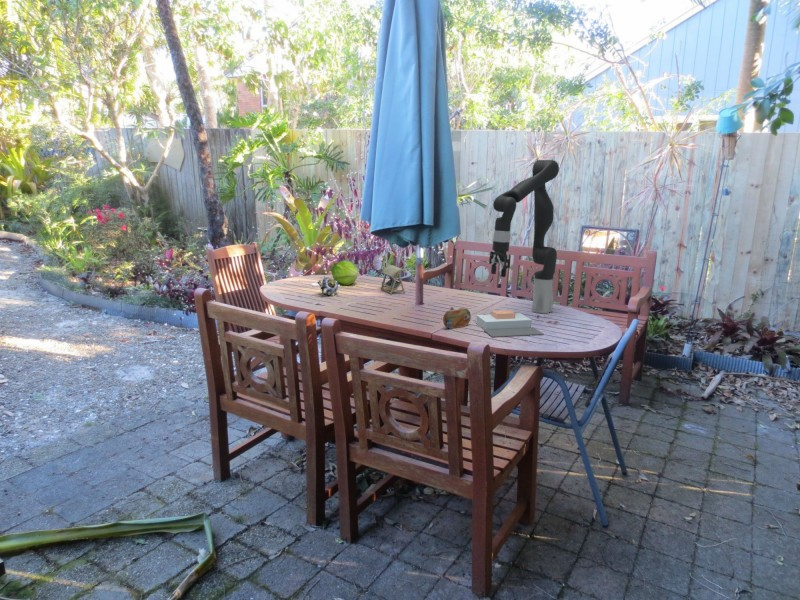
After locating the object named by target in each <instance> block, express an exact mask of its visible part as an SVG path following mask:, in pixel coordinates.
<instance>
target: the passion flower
mask: <svg viewBox="0 0 800 600" xmlns="http://www.w3.org/2000/svg"><path fill="white" fill-rule="evenodd" d="M317 284H318V285H319V287H320V290H321V293H322V294H324V292H325V293H326V294H327V295H328V296H330V295H331V296H332V297H334V296H335V293H337V294H338V293H339V289H338V288H340V287H341V284H339V283H338V282H337V281H335V279H334V278H333V276H331V277H329V276H327V275H324V276H323V279H322V280H321V279H319V280H318V281H317Z"/></svg>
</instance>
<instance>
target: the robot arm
mask: <svg viewBox="0 0 800 600" xmlns="http://www.w3.org/2000/svg"><path fill="white" fill-rule="evenodd" d="M559 171H560V165H559V163H558V161H556V160H553V159H539V160H536V161H535V162H534V163H533V166H532V176H530V177H528V178H526V179H523V180H521V181H520V182H518V183H517V184H516V185H514V186H513V187H512V188H511V189H509V190H506V191H505V192H504V193H501V194H499V195H498V196H496V198H495V199H494V201H493V203H492V205H493V207H492V208H493V209H494V210H495V211H496V212H498V213H502V215H501V216H500V217H496V219H495V224H494V230H493V231H494V232H493V239H492V251H489V260H488V264H489V265H490V266H491V267H490V268H491V270H490V271H491V272H490V274H491V275H496V274H497V266H498V264H499V265H500V267H501V270H500V277H502V278H505V277H506V276H507V269H510V267H511V254H507V252H509V251H510V241H511V227H512V221H513V218H514V215H515V212H516V209H517V203H520V202H521V201H523V200H524V199H525V198H526V197H528V196H529V195H530V194H531V193H532V192H533V194H534V198H533V199H534V200H533V201H534V209H533V221H534V223H533V224H534V226H533V227H534V229H533V242H532V254H531V255H532V261H533V262H534V263H535V264H536V265H542V266H543V267H542V269H541V270H538V271H535V272H534V279H533V291H532V294H533V295H532V305H531V311H532V312H534V313H537V314H548V313H549V312H550V313H553V305H554V303H553V302H554V293H553V285H554V283H553V282H554V275H555V273H556V266H557V259H558V254H557V249H556V248H555V247H550V246H545V239H546V238H545V237H546V234H547V232H548V231H549V230H550V228H551V226H552V225H553V222H554V218H555V217H554V216H555V215H554V214H555V213H554V212H555V211H554V210H555V209H554V203H553V202H552V200H551V198H550V196H549V194H548V192H547V188H546V183H548V182H551V181H552V180H554V179H555V178H556V177H557V176H558V175H559ZM550 313H549V314H550Z"/></svg>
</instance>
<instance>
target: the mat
mask: <svg viewBox="0 0 800 600" xmlns="http://www.w3.org/2000/svg"><path fill="white" fill-rule="evenodd" d="M483 331H484V333H486V334H487V335H488V336H489V337H491V338H492V339H493V338H494V339H495V338H508V337H509V338H511V337H512V338H513V337H529V336H530V335H532V336H533V337H534V336H544V334H545V333H544V332H542V331H540V330H538V329H537V328H535V327H531V328H513V329H493V330H484V329H483ZM532 336H531V337H532Z"/></svg>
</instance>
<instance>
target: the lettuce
mask: <svg viewBox="0 0 800 600" xmlns="http://www.w3.org/2000/svg"><path fill="white" fill-rule="evenodd" d="M359 273H360V272H359V269H358V267H357V265H356V264H354V263H353V262H352V261H348V260H346V261H345V260H341V261H339V262H336V263H334V264H333V265H332V268H331V277H332V279H333V280H334V279H335V281H337V284H339V285H343V286H348V285H349V286H350V285H352V284H354V283H355V282H356V280H357V279H358V277H359Z"/></svg>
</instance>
